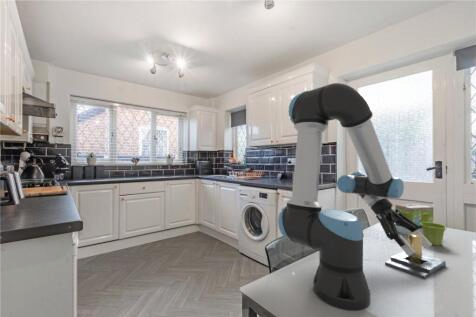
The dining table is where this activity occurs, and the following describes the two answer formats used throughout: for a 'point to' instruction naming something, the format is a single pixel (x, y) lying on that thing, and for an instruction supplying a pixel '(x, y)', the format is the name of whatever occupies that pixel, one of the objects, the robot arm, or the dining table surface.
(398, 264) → the grey square-hole plate
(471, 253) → the dining table surface
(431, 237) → the plant pot
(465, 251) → the dining table surface
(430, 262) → the grey slotted plate
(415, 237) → the brass pin
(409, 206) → the tea box
